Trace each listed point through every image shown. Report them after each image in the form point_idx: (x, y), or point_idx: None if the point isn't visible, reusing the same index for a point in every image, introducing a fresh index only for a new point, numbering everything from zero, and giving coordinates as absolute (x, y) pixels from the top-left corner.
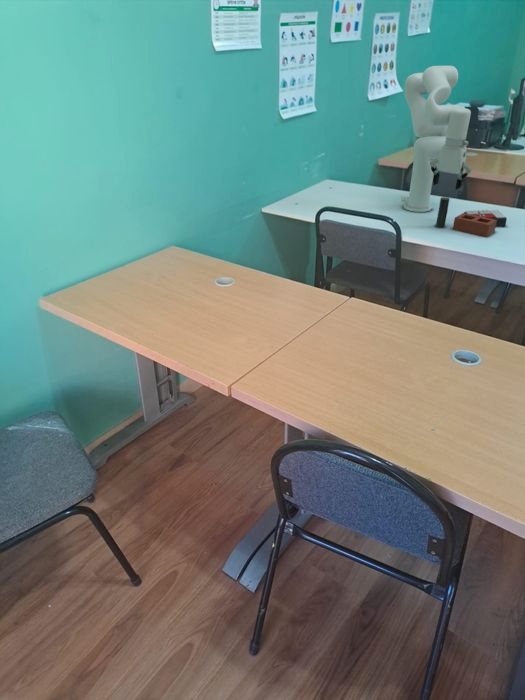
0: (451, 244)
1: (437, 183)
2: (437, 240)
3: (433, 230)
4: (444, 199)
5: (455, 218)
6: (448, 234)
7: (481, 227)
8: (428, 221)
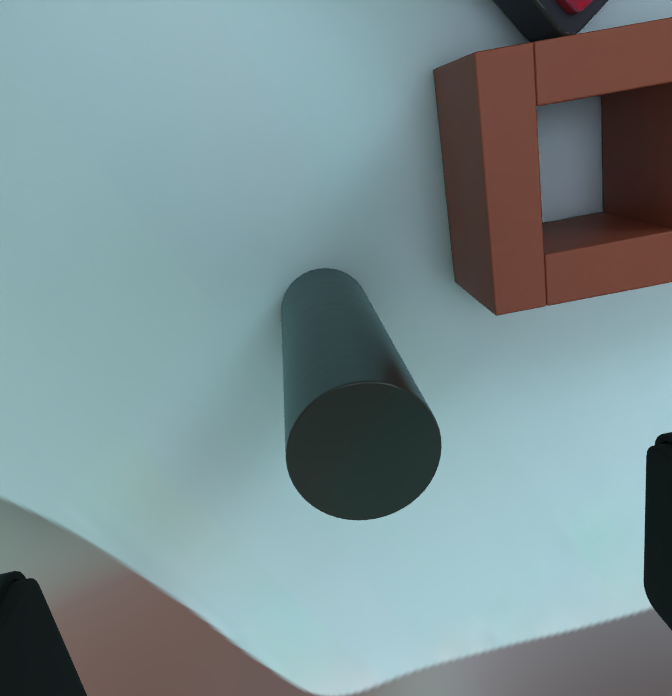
0: (628, 575)
1: (46, 610)
2: (511, 590)
3: None
4: (395, 509)
5: (503, 312)
6: (502, 425)
7: None
8: (138, 269)
